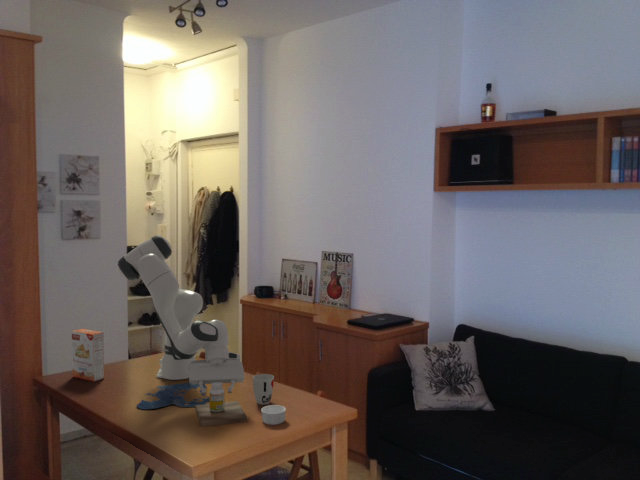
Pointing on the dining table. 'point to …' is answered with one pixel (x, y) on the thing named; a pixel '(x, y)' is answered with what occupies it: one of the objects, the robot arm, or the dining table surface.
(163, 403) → the blue cloth
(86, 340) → the cracker box
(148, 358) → the dining table surface
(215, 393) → the supplement bottle
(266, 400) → the cup
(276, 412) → the ramekin
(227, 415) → the wooden board
